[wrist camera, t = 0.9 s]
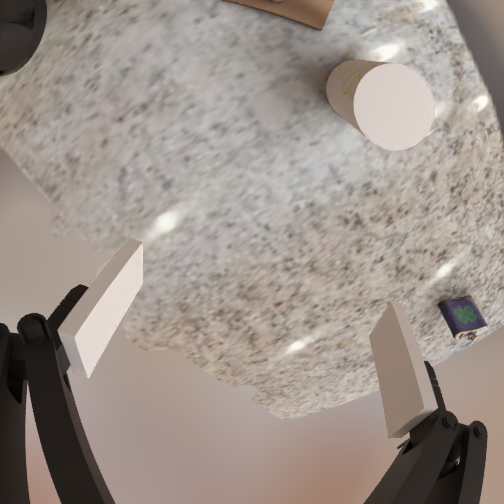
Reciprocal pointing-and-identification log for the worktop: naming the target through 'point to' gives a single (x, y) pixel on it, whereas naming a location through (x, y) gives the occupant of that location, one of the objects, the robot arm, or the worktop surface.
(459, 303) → the flask
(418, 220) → the worktop surface
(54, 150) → the worktop surface
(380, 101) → the cup
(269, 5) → the tray
